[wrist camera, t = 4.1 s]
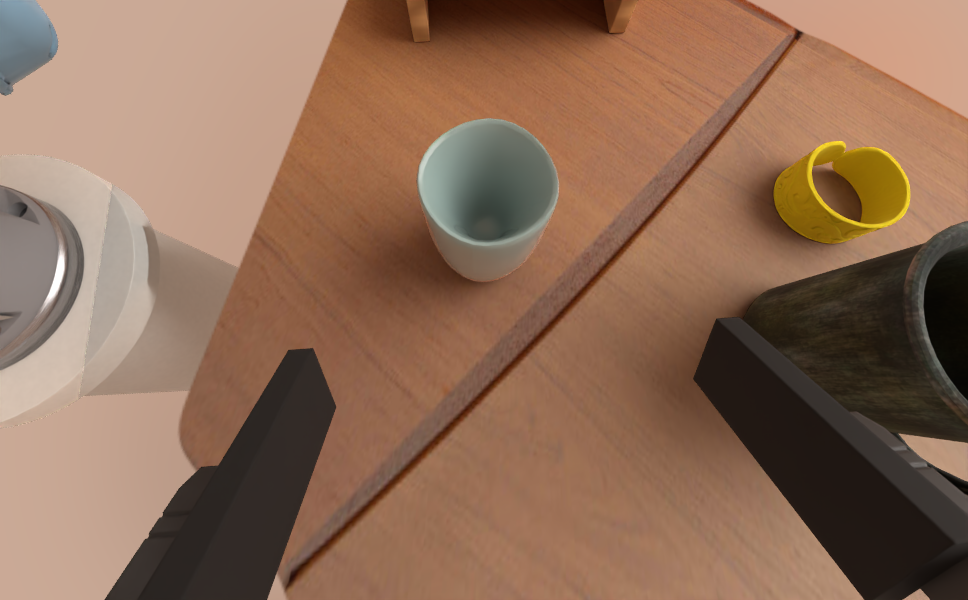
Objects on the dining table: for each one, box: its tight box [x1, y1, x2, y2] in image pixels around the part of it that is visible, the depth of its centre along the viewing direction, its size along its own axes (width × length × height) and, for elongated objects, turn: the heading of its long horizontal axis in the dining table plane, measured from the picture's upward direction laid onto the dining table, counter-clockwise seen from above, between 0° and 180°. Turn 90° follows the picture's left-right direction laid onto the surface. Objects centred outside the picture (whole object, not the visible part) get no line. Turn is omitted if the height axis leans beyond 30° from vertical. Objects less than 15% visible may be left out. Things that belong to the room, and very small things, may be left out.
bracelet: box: [774, 141, 910, 244], centre depth 29 cm, size 7×8×3 cm
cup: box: [416, 118, 559, 282], centre depth 24 cm, size 8×8×10 cm
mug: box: [743, 221, 968, 497], centre depth 21 cm, size 11×15×12 cm
